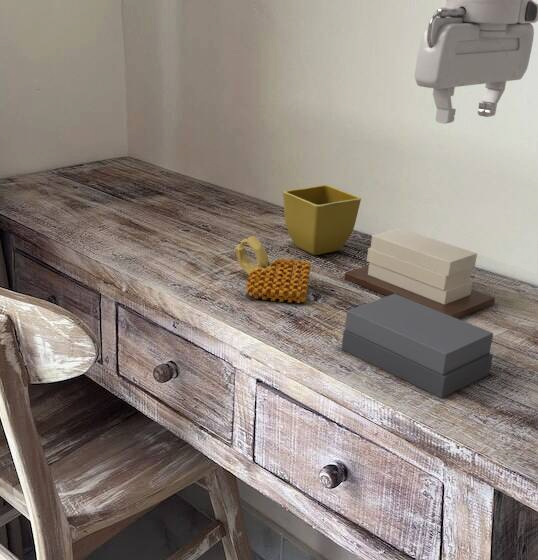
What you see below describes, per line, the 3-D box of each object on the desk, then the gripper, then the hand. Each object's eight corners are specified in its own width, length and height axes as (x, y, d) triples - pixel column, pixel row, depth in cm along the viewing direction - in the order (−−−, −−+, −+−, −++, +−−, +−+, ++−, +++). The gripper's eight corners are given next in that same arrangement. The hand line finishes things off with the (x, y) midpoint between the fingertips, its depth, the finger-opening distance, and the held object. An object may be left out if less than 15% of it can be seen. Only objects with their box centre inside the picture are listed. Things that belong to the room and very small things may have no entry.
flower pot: (312, 262, 123) (317, 205, 119) (277, 245, 129) (281, 190, 126) (356, 253, 127) (362, 198, 124) (320, 237, 134) (325, 184, 130)
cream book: (475, 267, 109) (477, 253, 108) (448, 276, 105) (450, 262, 104) (397, 240, 118) (398, 227, 117) (370, 248, 114) (371, 234, 114)
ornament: (337, 264, 107) (266, 212, 117) (274, 295, 103) (206, 238, 112) (333, 303, 112) (265, 250, 121) (273, 334, 107) (207, 276, 117)
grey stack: (489, 374, 91) (496, 334, 89) (441, 398, 86) (448, 356, 84) (389, 330, 101) (394, 293, 99) (341, 349, 96) (345, 310, 94)
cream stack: (494, 304, 110) (500, 269, 108) (450, 322, 104) (456, 286, 102) (388, 264, 123) (392, 233, 121) (344, 278, 117) (347, 246, 115)
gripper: (455, 9, 92) (438, 131, 97) (547, 8, 104) (528, 116, 109) (409, 5, 96) (396, 122, 101) (503, 5, 109) (487, 109, 114)
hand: (465, 119), depth 106 cm, fingers open, 8 cm apart
